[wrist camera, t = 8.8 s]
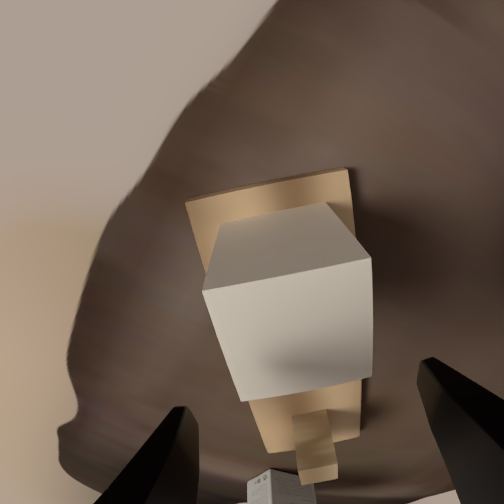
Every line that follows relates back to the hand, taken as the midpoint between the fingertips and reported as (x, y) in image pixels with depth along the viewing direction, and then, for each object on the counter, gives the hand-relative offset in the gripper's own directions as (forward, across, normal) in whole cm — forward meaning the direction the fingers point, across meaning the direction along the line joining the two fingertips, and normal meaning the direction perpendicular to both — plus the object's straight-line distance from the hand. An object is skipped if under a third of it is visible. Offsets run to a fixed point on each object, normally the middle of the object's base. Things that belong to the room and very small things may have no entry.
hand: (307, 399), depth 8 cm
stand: (+10, 0, +7) cm, 12 cm away
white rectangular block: (+9, 0, 0) cm, 9 cm away
